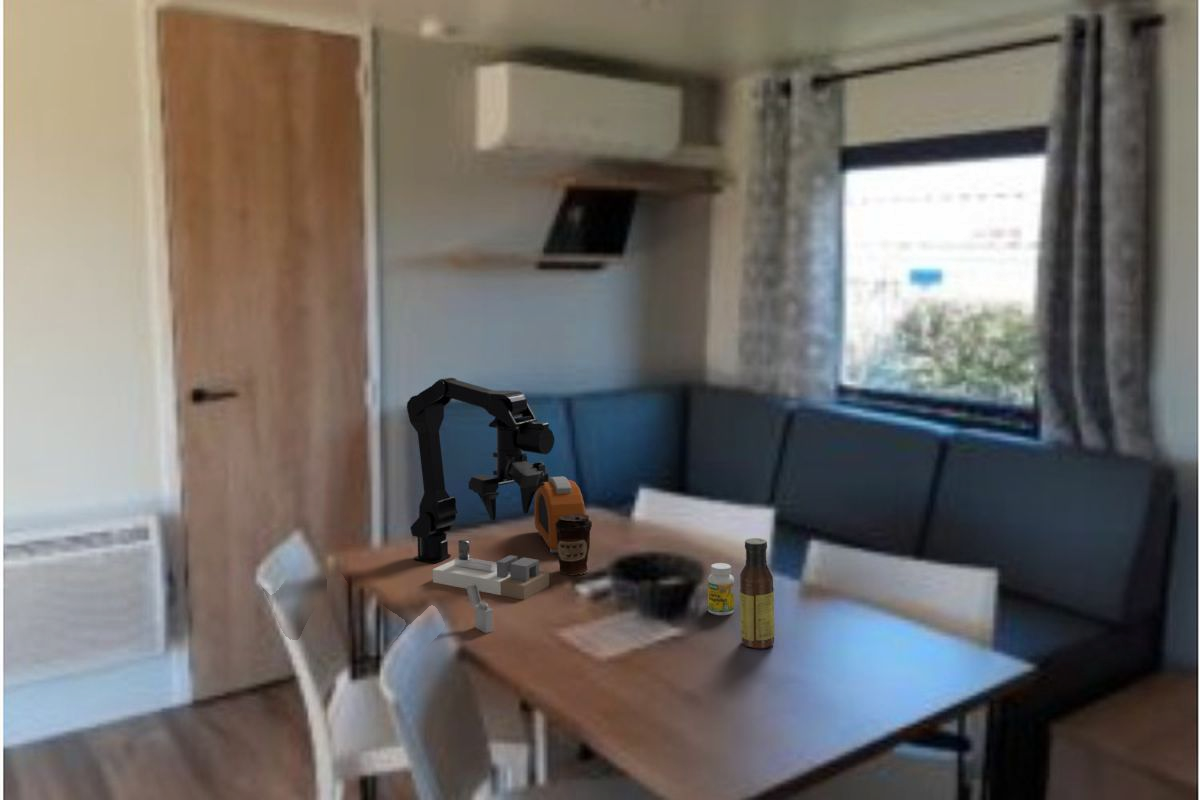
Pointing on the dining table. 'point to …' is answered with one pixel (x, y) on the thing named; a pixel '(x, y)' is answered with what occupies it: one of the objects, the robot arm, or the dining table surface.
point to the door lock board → (497, 577)
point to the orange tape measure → (556, 506)
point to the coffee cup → (573, 543)
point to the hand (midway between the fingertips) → (509, 516)
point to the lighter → (480, 610)
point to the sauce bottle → (756, 597)
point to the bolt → (472, 563)
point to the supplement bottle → (721, 590)
